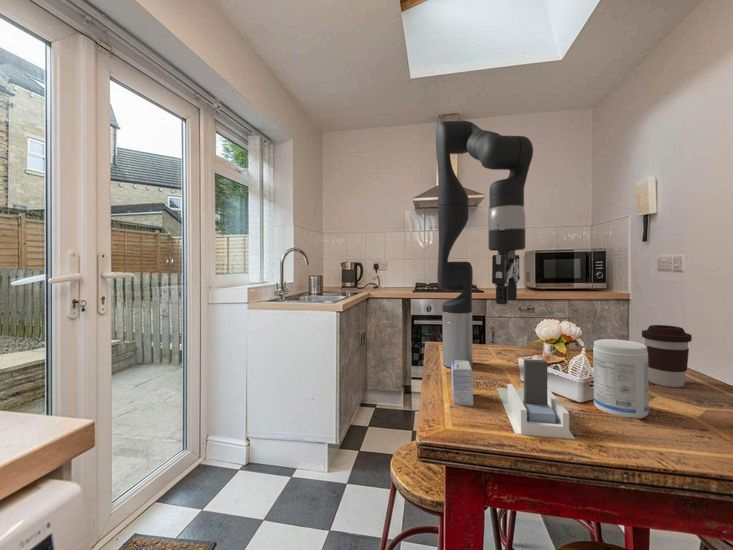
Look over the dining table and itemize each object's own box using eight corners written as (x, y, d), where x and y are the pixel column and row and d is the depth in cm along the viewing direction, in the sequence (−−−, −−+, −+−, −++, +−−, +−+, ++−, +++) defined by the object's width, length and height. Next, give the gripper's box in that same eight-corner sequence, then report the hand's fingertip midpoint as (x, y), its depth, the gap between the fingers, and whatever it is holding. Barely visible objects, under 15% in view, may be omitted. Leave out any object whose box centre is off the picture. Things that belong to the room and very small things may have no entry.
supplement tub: (616, 400, 80) (616, 337, 80) (660, 417, 71) (660, 346, 71) (582, 405, 78) (582, 340, 77) (623, 423, 69) (623, 349, 68)
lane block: (522, 417, 70) (522, 359, 70) (546, 419, 69) (546, 360, 69) (529, 431, 65) (529, 367, 64) (555, 433, 64) (555, 368, 63)
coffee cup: (700, 386, 88) (700, 328, 88) (677, 392, 85) (677, 331, 85) (655, 375, 98) (655, 322, 97) (633, 380, 94) (633, 325, 94)
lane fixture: (496, 390, 88) (496, 370, 88) (539, 392, 86) (538, 372, 86) (515, 436, 64) (515, 409, 64) (575, 442, 61) (575, 413, 61)
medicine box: (473, 408, 77) (473, 369, 77) (452, 407, 78) (452, 368, 78) (470, 395, 85) (469, 360, 85) (451, 394, 86) (451, 359, 85)
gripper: (497, 231, 84) (497, 298, 85) (479, 227, 72) (479, 304, 73) (531, 229, 80) (531, 299, 80) (517, 224, 68) (517, 306, 69)
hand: (506, 302), depth 77 cm, fingers open, 8 cm apart
